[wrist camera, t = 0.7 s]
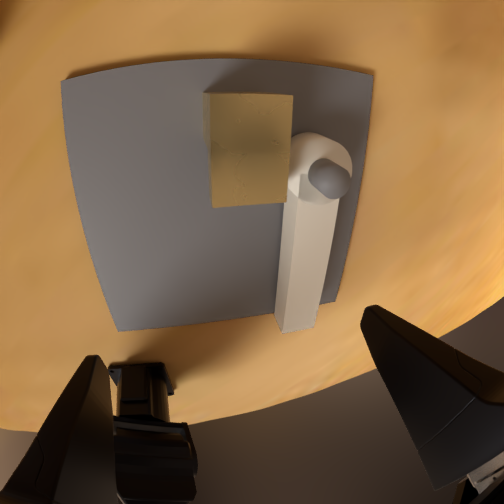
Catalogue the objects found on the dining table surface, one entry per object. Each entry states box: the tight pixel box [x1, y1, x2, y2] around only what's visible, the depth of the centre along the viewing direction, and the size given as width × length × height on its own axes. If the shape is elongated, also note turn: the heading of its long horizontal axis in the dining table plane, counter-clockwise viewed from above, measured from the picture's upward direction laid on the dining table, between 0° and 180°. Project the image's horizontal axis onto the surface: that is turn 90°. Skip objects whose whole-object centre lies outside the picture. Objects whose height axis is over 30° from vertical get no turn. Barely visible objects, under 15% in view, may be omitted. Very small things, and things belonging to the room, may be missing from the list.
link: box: [274, 132, 352, 334], centre depth 21 cm, size 16×4×4 cm, turn 179°
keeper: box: [202, 92, 293, 208], centre depth 16 cm, size 6×4×5 cm
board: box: [61, 59, 373, 332], centre depth 21 cm, size 21×21×1 cm
